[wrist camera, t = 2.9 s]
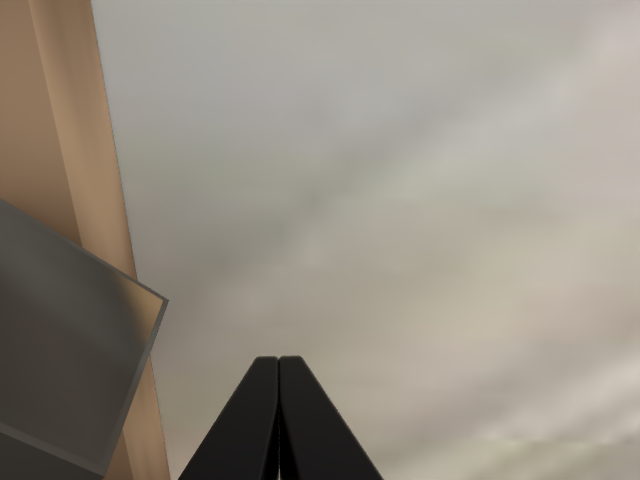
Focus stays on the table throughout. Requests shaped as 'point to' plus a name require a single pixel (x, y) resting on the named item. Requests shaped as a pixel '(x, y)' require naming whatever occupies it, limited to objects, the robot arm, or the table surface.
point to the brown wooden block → (71, 170)
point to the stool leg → (66, 352)
